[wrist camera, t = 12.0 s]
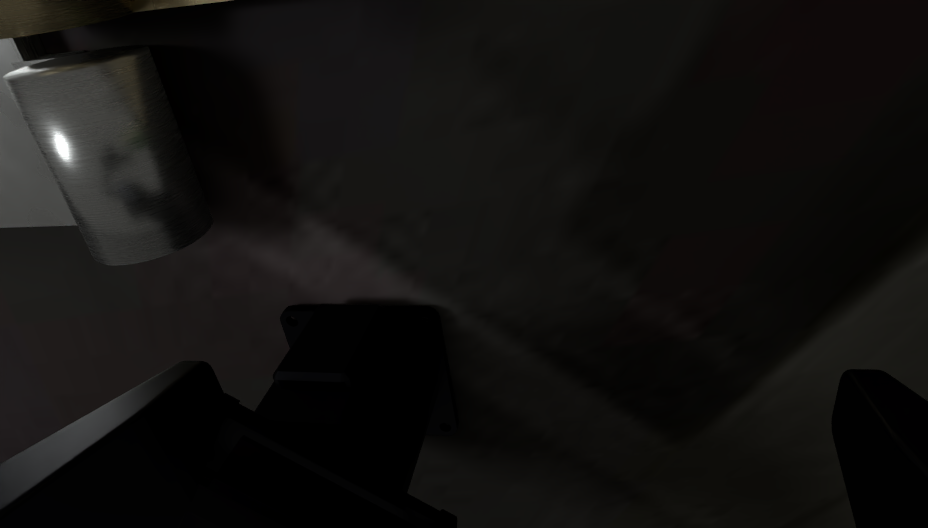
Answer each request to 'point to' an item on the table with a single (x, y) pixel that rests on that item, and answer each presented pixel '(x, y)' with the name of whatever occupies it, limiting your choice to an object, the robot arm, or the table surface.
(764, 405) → the table surface
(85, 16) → the brass hinge leaf
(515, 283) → the table surface
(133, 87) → the steel hinge leaf
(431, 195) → the table surface
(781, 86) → the table surface
